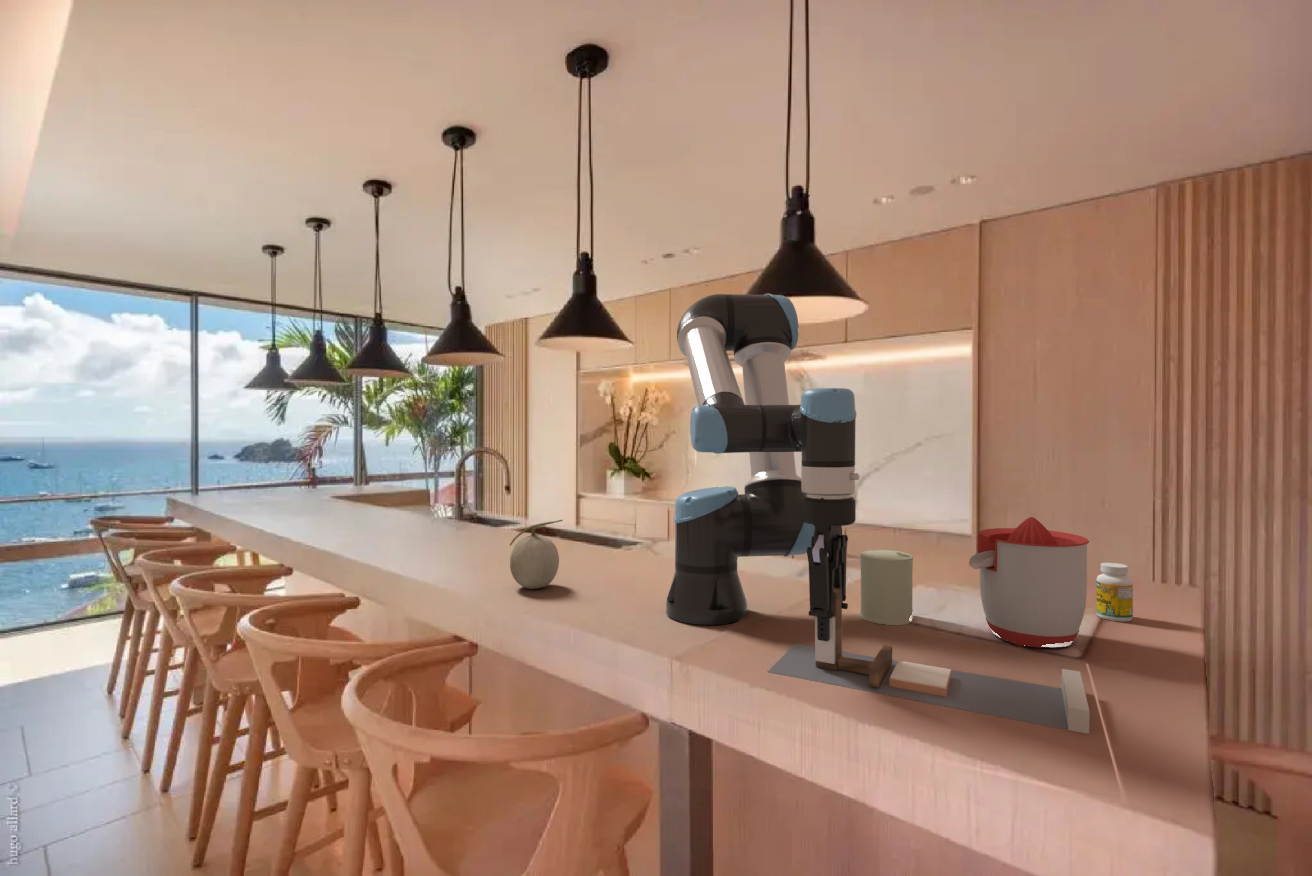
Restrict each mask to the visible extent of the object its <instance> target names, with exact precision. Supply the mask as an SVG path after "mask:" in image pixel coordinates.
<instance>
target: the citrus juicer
mask: <svg viewBox="0 0 1312 876" xmlns="http://www.w3.org/2000/svg"><path fill="white" fill-rule="evenodd" d="M1089 543H1090V540H1089V539H1088V538H1087V537H1085V536H1082V535H1079V534H1074V533H1068V532H1063V531H1056V530H1049V529H1047V528H1046V527H1045V525H1043V523H1042V522H1040V521H1039V520H1038V519H1037V518H1035V517H1033V516H1030V517H1028V518H1025V520H1023V521H1022V522H1021V523H1019V525H1018V526H1017V527H1002V528H1001V527H998V528H986V529H982V530H980V531H978V534H977V553H976V554H973V555H971V556H970V557H969V561H968V566H969V567H971V568H972V569H974V570H976V569H977V570H979V588H980V589H979V590H980V600H981V603H982V608H983V612H984V614H985V621H986V623H987V626H988V625H989V626H988V628H989V627H990V628H991V629H992V630H993V631H994V632H995V633H997V634H998V635H999V636H1000V637H1001V638H1002V639H1001V640H1002V641H1003V640H1004V641H1005V642H1009V643H1011V644H1014V643H1015V644H1014V645H1015V646H1018V647H1019V648H1020V647H1021V648H1022V647H1023V648H1027V647H1026V646H1029V647H1031V648H1039V649H1040V648H1041V646H1042V645H1046V644H1055V643H1064V642H1070V641H1074V642H1075V640H1076V638H1077V636H1078V634H1079V632H1080V628H1081V624H1082V622H1083V619H1084V616H1085V615H1084V614H1085V610H1086V605H1087V596H1088V595H1087V592H1088V591H1087V587H1088V583H1087V582H1088V581H1087V580H1088V579H1087V578H1088V577H1087V576H1088V572H1087V571H1088V544H1089ZM990 628H989V629H990ZM1024 645H1025V646H1024Z"/></svg>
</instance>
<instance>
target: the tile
mask: <svg viewBox="0 0 1312 876" xmlns="http://www.w3.org/2000/svg"><path fill="white" fill-rule="evenodd" d="M897 661H898V662H897V664H896V666H895V668H894V670H893V672H892V674H891V676H890V678H889V686H891V687H897V688H902V689H908V690H913V691H918V692H924V693H929V694H934V695H940V696H945V697H947V693H948V689H949V685H950V682H951V678H952V670H953V669H950V668H946V667H941V666H940V667H939V666H934V665H928V664H922V663H915V662H909V661H904V660H897Z"/></svg>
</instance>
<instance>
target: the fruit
mask: <svg viewBox="0 0 1312 876" xmlns="http://www.w3.org/2000/svg"><path fill="white" fill-rule="evenodd" d="M559 522H563V519H559V520H554V521H548V522H540V523H538V524H534V525H531V526H529V527H527V528H525V529H523V530H522V531H520V532H519V533H518V534H517V535H515V536H514V537H513V539H512V540H511V542H510V543H509V546H510V547H511V546H512V545H513V543H514V542H515V541H516V540H517V539H518V538H519V537H520V536H521V535H523V534H524V533H526V532H527V531H529V530H530V533H531V534H529V535H527V536H524V537H522V538H521V539H519V540H518V541H517V542H516V544H514V546H513V548H512V550H511V551H510V552H511V553H510V557H509V568H510V569H509V570H510V572H511V575H512V578H513V579H514V581H515V582H516V583H517V584H518V585H520V586H521V587H524V588H526V589H528V590H530V589H531V590H536V589H542V588H545V587H546V586H548V585H550V584H551V583H552V582H553V581H554V578H555V577H556V576H557V573H558V570H559V566H560V556H559V555H560V554H559V552H558V548H557V546H556V545H555V543H554V542H553V540H552V539H550V538H549V537H547V536H544V535H542V534H536V529H537V528H540V527H542V526H546V525H550V524H554V523H559Z"/></svg>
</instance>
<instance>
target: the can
mask: <svg viewBox="0 0 1312 876" xmlns="http://www.w3.org/2000/svg"><path fill="white" fill-rule="evenodd" d="M859 557H860V609H859V610H860V611H859V612H860V613H859V617H860V618H861V619H862V620H865V621H866V622H869V623H872V624H878V625H882V624H885V625H884V626H904V625H909V624H911V623H910V621H909V618H910V616H911V615H912V612H913V571H914V570H913V566H914V563H913V562H914V555H912V554H911V553H908V552H904V551H899V550H893V549H892V550H891V549H870V550H864V551H861V552H860V554H859Z"/></svg>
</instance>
